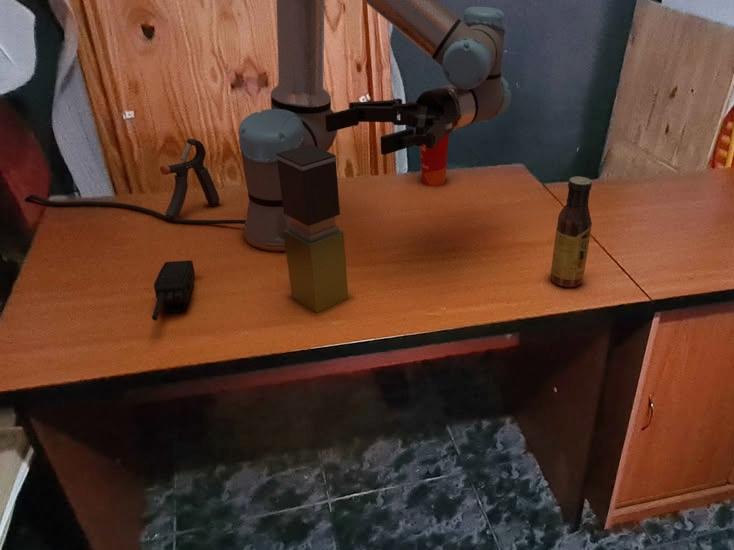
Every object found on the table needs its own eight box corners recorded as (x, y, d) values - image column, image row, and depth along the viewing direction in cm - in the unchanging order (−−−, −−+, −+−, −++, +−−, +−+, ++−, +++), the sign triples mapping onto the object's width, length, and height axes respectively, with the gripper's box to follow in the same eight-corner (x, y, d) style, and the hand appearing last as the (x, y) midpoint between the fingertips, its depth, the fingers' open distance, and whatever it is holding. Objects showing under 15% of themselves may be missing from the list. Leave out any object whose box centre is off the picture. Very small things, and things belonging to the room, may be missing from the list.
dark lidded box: (283, 213, 112) (275, 153, 106) (315, 202, 116) (309, 143, 110) (308, 226, 108) (301, 165, 102) (340, 214, 112) (336, 155, 106)
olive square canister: (291, 297, 121) (280, 213, 112) (323, 283, 126) (315, 201, 116) (316, 313, 118) (307, 227, 108) (348, 298, 122) (342, 214, 112)
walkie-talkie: (206, 265, 124) (193, 316, 108) (185, 289, 126) (169, 343, 109) (175, 244, 121) (157, 293, 105) (154, 269, 122) (133, 321, 106)
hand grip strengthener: (164, 221, 142) (147, 149, 133) (214, 202, 150) (201, 133, 141) (171, 224, 141) (154, 152, 132) (221, 205, 149) (208, 136, 141)
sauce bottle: (581, 291, 128) (597, 190, 116) (547, 286, 129) (560, 185, 117) (583, 274, 133) (599, 176, 122) (551, 269, 134) (564, 171, 122)
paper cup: (421, 173, 170) (421, 116, 161) (451, 176, 169) (453, 119, 161) (414, 185, 164) (414, 126, 155) (446, 189, 163) (447, 130, 155)
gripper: (495, 148, 121) (407, 179, 108) (397, 113, 133) (308, 136, 120) (498, 105, 116) (407, 131, 103) (396, 72, 129) (304, 92, 116)
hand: (353, 134), depth 111 cm, fingers open, 13 cm apart
